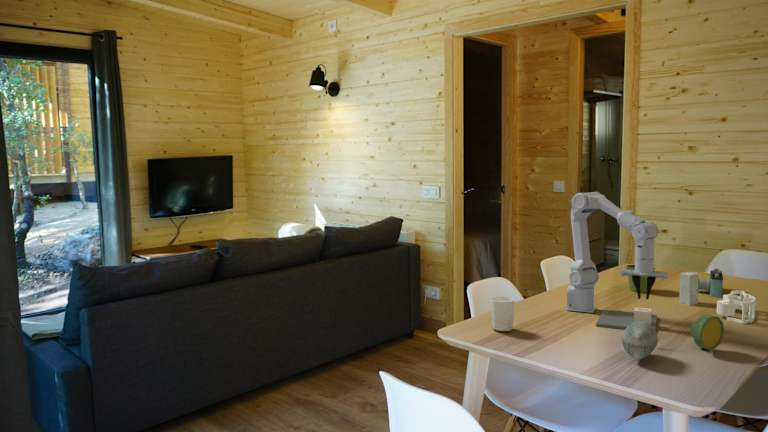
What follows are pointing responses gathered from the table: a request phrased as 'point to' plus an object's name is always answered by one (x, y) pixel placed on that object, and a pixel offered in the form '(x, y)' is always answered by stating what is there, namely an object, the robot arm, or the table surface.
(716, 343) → the decorative artifact
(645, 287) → the plant pot
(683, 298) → the skincare box
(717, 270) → the camera
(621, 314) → the plate
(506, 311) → the white cup
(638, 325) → the grey rounded piece
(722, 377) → the table surface
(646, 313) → the white drawer cabinet
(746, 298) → the skeletal toy car
